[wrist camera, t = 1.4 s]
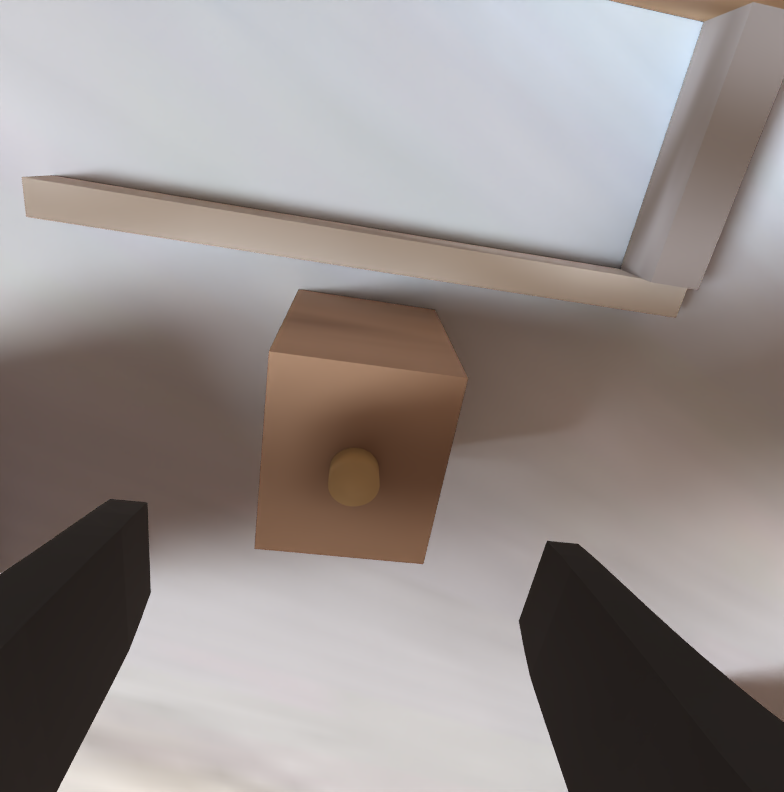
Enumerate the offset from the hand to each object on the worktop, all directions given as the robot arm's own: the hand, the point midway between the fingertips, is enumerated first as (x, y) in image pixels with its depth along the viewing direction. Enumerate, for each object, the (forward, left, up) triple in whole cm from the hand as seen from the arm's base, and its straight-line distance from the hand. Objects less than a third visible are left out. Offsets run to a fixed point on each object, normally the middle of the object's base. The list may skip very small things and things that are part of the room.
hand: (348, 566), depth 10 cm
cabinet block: (0, 0, -10) cm, 10 cm away
